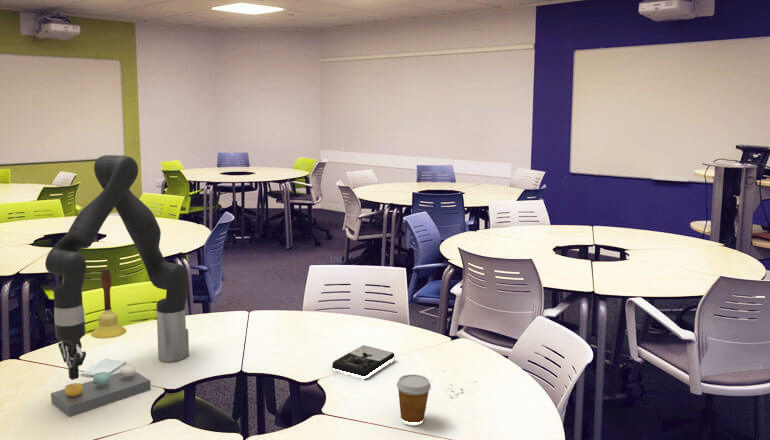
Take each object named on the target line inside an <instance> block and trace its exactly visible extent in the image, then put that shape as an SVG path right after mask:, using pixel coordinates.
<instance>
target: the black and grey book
mask: <svg viewBox="0 0 770 440" xmlns="http://www.w3.org/2000/svg"><path fill="white" fill-rule="evenodd" d="M393 357H394V358H395V353H394V352H392V351H388V350H384V349H381V348H377V347H373V346H370V345H365V344H363V345H361V346H359V347H356V348H355V349H353V350H352V351H350V352H348V353H346V354H345V355H343V356H341V357H340V358H337V359H335V360H334V361H333V362H332V366H331V368H335V369H339V370H342V371H346V372H350V373H354V374H358V375H361V376H366V375H368V374H369V373H370V372H372V371H373V370H375V369H376V368H378V367H379V366H381V365H382V364H384V363H385V362H387V361H388V360H390V359H392V358H393Z"/></svg>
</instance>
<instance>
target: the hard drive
mask: <svg viewBox="0 0 770 440" xmlns="http://www.w3.org/2000/svg"><path fill="white" fill-rule="evenodd" d="M123 365H128V364H127V360H120V359H111V358H104V359H102V360H100V362H97V363H96V364H95V365H93V366H91V367H89V368H88V369H86V370H85V371H83V372H81V373H79V377H83V378H92V379H93V375H94V374H96V373H100V372H108V373H109V374H110V375H113V374H115V372H117V371H119V370H120V367H121V366H123Z"/></svg>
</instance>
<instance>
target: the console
mask: <svg viewBox="0 0 770 440" xmlns="http://www.w3.org/2000/svg"><path fill="white" fill-rule="evenodd" d="M135 372H136V373H135V374H134V375H132V376H126V377H125V376H121V375H120V371H119V372H117V373H112V374H111V375H110V381H109V382H108V383H106V384H101V385H97V384H94V382H93V380H89V381H86V382H83V383H81V384H82V389H83V392H82V393H81V394H80V395H77V396H66V394H65V388H64V389H59V390H57V391H54V392H50V399H51V400H50V401H51V404H52V405H54V407H56V409H57V408H58V409H59V410H60V411H61V412H63V413H64V414H65V415H67V416H68V417H73V416H76V415H79V414H82V413H85V412H88V411H91V410H93V409H97V408H99V407H103V406H105V405H108V404H111V403H115V402H117V401H121V400H123V399H126V398H130V397H133V396H136V395H139V394H141V393H145V392H148V391H150V390H152V387H151V379H149V378H147V377H145V376H144V375H142V374H140V373H138V372H137V371H135Z"/></svg>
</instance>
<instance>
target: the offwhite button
mask: <svg viewBox="0 0 770 440" xmlns="http://www.w3.org/2000/svg"><path fill="white" fill-rule="evenodd" d="M119 372H120V375H121V376H125V377H126V376H132V375H134V374H135V373H136V372H137V371H136V365H135V364H129V363H128V364H126V365H123V366H121V367H120V369H119Z"/></svg>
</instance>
